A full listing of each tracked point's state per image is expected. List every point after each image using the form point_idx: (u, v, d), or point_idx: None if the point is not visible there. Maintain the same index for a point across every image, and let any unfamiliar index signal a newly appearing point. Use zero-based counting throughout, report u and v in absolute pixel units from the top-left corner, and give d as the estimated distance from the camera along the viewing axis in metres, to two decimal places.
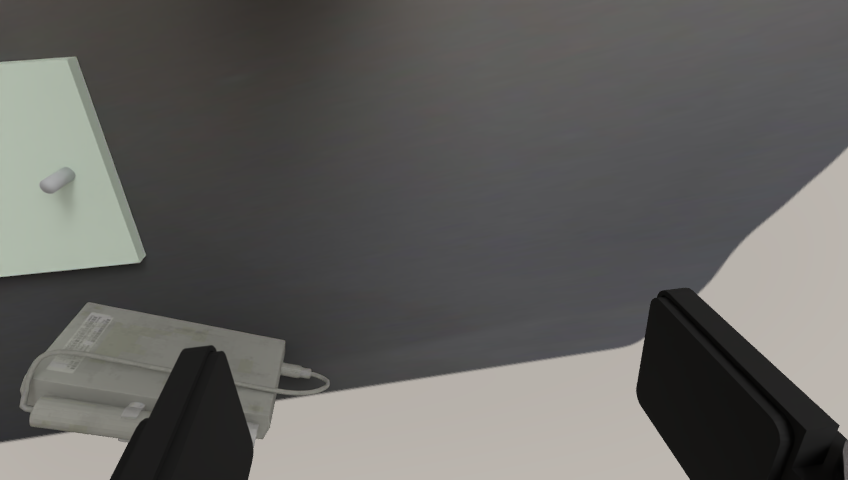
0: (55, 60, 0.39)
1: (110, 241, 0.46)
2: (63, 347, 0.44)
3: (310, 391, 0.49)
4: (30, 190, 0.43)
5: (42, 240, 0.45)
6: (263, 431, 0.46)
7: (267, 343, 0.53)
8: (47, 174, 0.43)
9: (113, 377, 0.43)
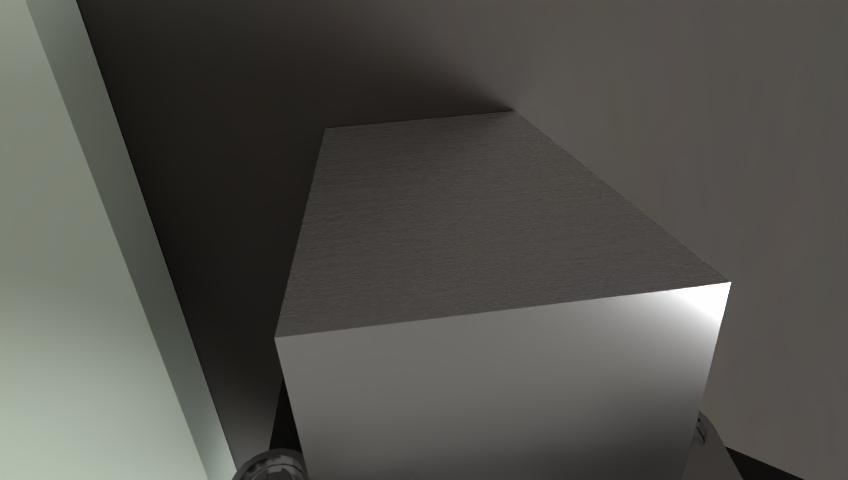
0: None
1: None
2: None
3: None
4: None
5: None
6: None
7: None
8: None
9: None
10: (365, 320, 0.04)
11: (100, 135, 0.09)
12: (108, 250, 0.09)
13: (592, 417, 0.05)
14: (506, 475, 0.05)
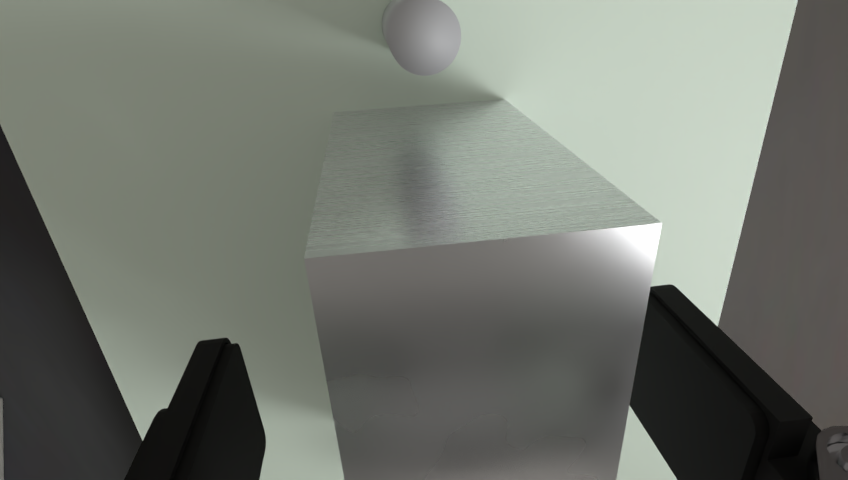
0: None
1: None
2: None
3: None
4: None
5: None
6: None
7: None
8: None
9: None
10: (374, 247, 0.06)
11: None
12: (757, 130, 0.13)
13: (555, 336, 0.06)
14: (486, 385, 0.07)
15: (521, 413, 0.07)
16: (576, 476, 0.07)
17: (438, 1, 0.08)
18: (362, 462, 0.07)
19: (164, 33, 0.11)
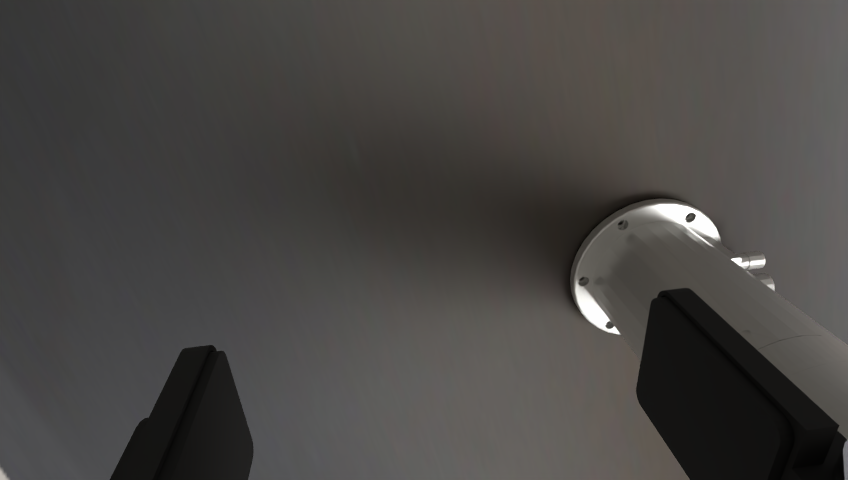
0: None
1: None
2: None
3: None
4: None
5: None
6: None
7: None
8: None
9: None
10: None
11: None
12: None
13: None
14: None
15: None
16: None
17: None
18: None
19: None
